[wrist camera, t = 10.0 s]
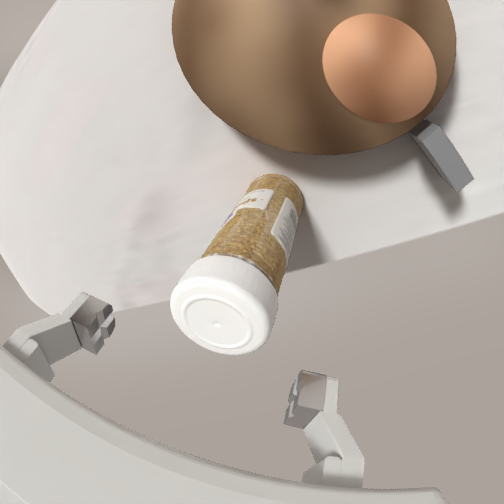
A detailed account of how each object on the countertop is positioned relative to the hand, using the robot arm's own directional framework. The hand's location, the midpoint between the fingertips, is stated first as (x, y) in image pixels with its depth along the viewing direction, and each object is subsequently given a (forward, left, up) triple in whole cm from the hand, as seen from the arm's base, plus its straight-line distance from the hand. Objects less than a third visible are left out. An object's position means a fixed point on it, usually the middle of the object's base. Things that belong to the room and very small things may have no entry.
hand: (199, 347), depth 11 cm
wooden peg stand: (+7, -12, -15) cm, 20 cm away
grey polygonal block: (-5, -12, -15) cm, 20 cm away
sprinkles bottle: (0, 0, -15) cm, 15 cm away
